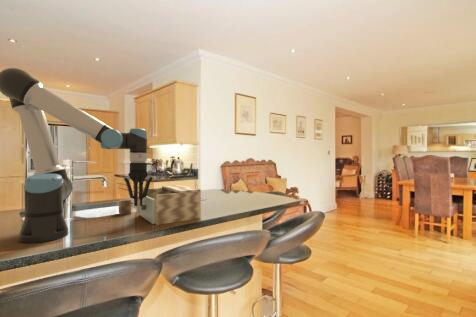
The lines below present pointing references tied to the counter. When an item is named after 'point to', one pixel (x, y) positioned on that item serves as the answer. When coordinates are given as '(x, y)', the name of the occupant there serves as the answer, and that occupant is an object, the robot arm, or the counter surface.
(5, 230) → the counter surface
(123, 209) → the pedestal
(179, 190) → the case
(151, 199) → the tray
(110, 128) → the robot arm
